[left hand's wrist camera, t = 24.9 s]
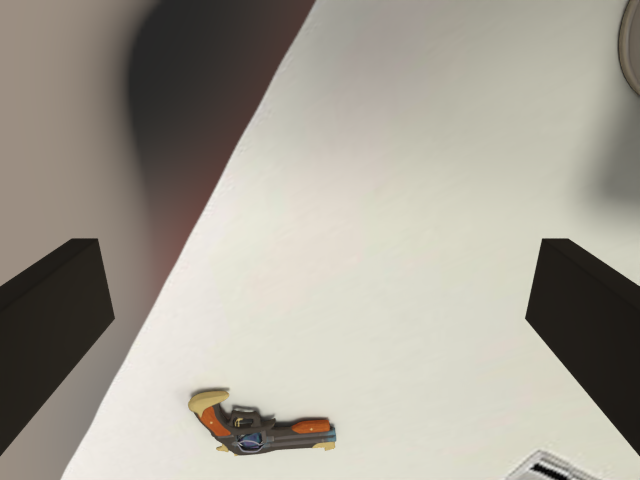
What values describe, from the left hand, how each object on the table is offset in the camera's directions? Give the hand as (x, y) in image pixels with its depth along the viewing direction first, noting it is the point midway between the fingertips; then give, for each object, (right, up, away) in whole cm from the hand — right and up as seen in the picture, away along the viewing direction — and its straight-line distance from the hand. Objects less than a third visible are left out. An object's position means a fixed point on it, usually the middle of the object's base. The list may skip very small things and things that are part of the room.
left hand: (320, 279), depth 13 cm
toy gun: (-7, -23, +44) cm, 50 cm away
